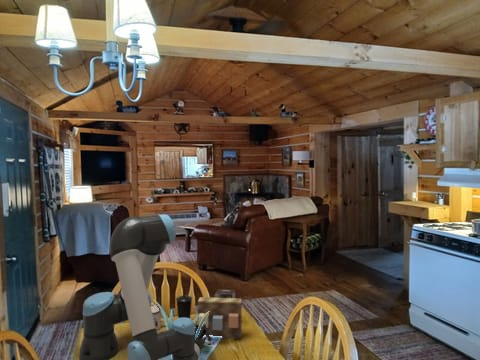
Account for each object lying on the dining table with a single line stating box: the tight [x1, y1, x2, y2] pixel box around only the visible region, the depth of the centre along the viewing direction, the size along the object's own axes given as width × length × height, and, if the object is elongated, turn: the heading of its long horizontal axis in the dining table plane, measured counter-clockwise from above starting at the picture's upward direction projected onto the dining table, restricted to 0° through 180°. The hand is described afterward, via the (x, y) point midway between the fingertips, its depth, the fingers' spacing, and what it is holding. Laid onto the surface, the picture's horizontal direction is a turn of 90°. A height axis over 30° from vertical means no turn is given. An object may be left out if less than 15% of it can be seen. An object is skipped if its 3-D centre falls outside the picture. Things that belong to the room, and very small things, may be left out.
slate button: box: [213, 315, 223, 330], centre depth 154 cm, size 4×8×5 cm, turn 175°
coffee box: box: [214, 288, 237, 298], centre depth 170 cm, size 9×6×16 cm
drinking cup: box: [175, 284, 193, 319], centre depth 167 cm, size 8×8×20 cm
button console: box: [197, 296, 243, 340], centre depth 159 cm, size 19×6×17 cm, turn 85°
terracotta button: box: [229, 313, 238, 328], centre depth 156 cm, size 4×8×5 cm, turn 175°
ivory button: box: [197, 313, 209, 328], centre depth 156 cm, size 4×8×5 cm, turn 175°
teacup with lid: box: [151, 302, 165, 331], centre depth 166 cm, size 12×9×12 cm
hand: (203, 322), depth 152 cm, fingers closed
